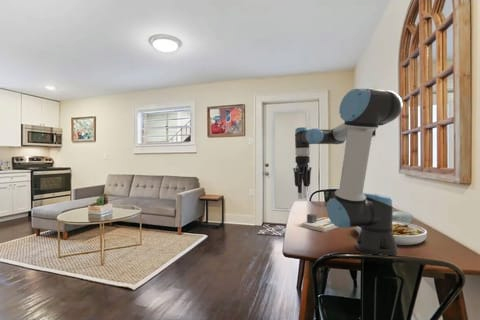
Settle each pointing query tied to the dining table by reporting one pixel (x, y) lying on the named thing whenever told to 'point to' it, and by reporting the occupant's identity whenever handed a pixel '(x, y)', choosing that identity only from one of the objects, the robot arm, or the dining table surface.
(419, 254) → the dining table surface
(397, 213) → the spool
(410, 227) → the bowl
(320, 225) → the switch board
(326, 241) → the dining table surface
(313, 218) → the tab charcoal
